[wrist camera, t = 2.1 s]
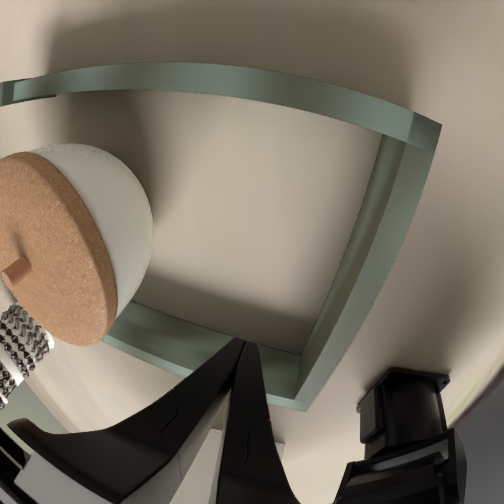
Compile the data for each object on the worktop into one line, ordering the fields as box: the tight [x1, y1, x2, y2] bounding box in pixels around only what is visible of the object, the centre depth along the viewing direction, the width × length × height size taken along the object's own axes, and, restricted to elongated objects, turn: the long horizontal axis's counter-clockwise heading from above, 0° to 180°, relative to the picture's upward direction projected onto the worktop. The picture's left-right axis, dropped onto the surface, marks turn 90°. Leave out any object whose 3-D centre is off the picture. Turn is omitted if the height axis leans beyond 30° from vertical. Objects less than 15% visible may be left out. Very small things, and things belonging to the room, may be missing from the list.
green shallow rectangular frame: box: [0, 62, 442, 412], centre depth 15 cm, size 24×18×5 cm
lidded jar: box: [0, 143, 154, 346], centre depth 13 cm, size 11×11×9 cm
